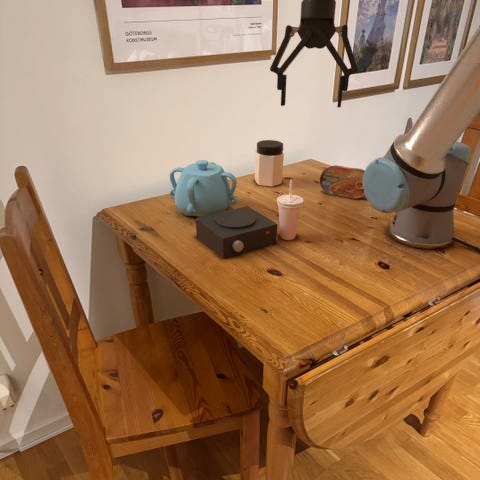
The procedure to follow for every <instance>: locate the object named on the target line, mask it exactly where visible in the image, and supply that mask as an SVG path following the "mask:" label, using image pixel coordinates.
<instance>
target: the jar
mask: <svg viewBox="0 0 480 480" xmlns="http://www.w3.org/2000/svg"><path fill="white" fill-rule="evenodd" d="M284 157H285V153H284V143H283V142H281V141H279V140H275V139H265V140H264V139H263V140H260V141H257V142H256V150H255V159H254V181H255V183H256V184H257V185H258V186H262V187H275V186H279V185H282V184H283V171H284Z"/></svg>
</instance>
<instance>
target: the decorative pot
mask: <svg viewBox="0 0 480 480" xmlns="http://www.w3.org/2000/svg"><path fill="white" fill-rule="evenodd" d="M175 173H180V175H179V178H178V180H177V181H176V179H175ZM169 180H170V181H169V182H170V184H171V186H172V189H171V188H170V190H169V197H171V198H172V199H174V204H175V207H176V208H177V210H178V211H179V212H180V213H181V214H184V215H185V216H187V217H191V216H192V217H198V218H199V217H203V216H207V215H211V214H215V213H220V212H222V211H227V209H228V207H229V206H231V207H233V206H236V205H237V204H238V202H239V199H238V197H237V196H236V195H234V194H235V191H236V189H237V184H238V183H237V182H238V180H237V178H236V176H235V175H234V174H233V173H231V172H229V171H227V172H226V171H225V170H224V168H223V167H222V165H220V164H216V163H215V162H212V161H210V162H209V161H208V160H205V159H198V160H196V161H195V162H193V163H191V164H188V165H186V166H185V167H181V166H180V167H179V166H177V167H175V168H173V169H171V171H170V172H169ZM229 180H230V181H231V185H230V181H229Z"/></svg>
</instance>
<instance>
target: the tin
mask: <svg viewBox="0 0 480 480" xmlns="http://www.w3.org/2000/svg"><path fill="white" fill-rule="evenodd" d="M365 170H366V169H362V168H356V167H349V166H344V165H343V166H342V165H336V164H335V165H334V164H333V165H330V166H328V167H327V168H325V169H323V170H322V172H321V174H320V176H319V185H320V188H321V190H322V191H323V192H324V193H326V194H327V195H330V196H335V197H341V198H342V197H343V198H348V199H354V200H357V199H361V198H363V197H364V196H365V193H364V187H363V175H364V172H365Z"/></svg>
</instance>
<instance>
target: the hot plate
mask: <svg viewBox="0 0 480 480" xmlns="http://www.w3.org/2000/svg"><path fill="white" fill-rule="evenodd" d="M278 225H279V224H278V223H277V222H275V221H273V220H272V219H270V218H268V217H267V216H265V215H263V214H262V213H260V212H258V211H257V210H255V209H253V208H252V207H250V206H248V205H245V206H241V207H238V208H234V209H228V210H227V209H226V210H225V211H222V212H220V213H215V214H211V215H207V216H203V217H199V216H198V217H196V218H195V229H196V230H195V231H196V238H197V239H199V240H200V241H201V242H202V243H203V244H205V246H207V247H208V248H210V249H211V250H212V251H213V252H215V254H218V256H220V257H221V258H222V259H226V258H230V257H234V256H236V255H240V254H244V253H247V252H250V251H254V250H258V249H261V248H264V247H268V246H271V245H275V244H277V240H278Z"/></svg>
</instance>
